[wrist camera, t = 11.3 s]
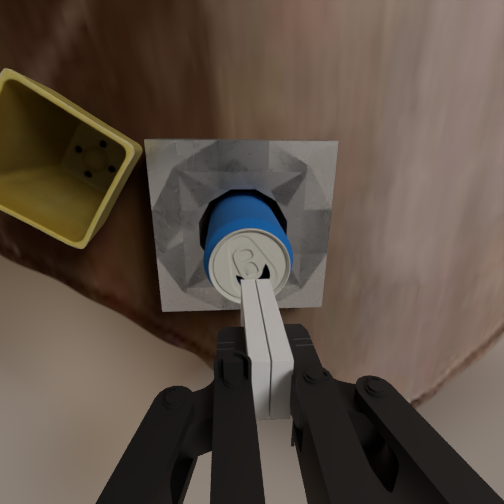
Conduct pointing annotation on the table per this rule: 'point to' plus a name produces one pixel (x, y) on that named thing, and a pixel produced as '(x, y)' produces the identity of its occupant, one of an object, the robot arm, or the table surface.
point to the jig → (238, 177)
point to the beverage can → (245, 245)
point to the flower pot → (58, 161)
